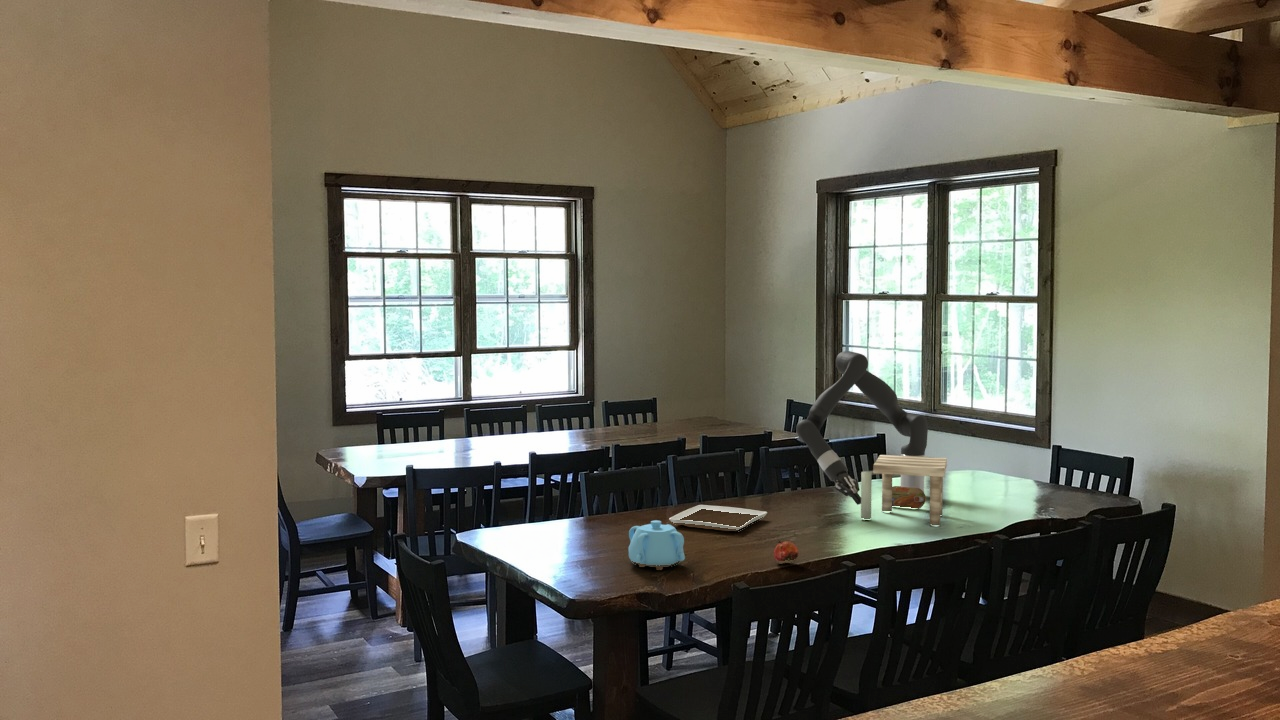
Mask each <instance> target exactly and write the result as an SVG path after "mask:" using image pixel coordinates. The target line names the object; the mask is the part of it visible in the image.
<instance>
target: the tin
mask: <svg viewBox="0 0 1280 720" xmlns="http://www.w3.org/2000/svg"><path fill="white" fill-rule="evenodd" d="M926 501H927V497H926V493H925V491H924V492H923V491H922V490H921V489H919V488H917V487H903V486H901V485H895V486H893V485H892V506H900V507H911V508H918V509H917V510H920V509H921V508H922V507H923V506H924V505H925V503H926Z"/></svg>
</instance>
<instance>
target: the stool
mask: <svg viewBox="0 0 1280 720" xmlns="http://www.w3.org/2000/svg"><path fill="white" fill-rule="evenodd" d="M947 460H948V457H940V456H939V457H934V456H933V457H932V456H925V457H917V456H901V455H892V454H890V455H889V454H880V455H879V456H878V458H877V459H876V460H875V462H874V463H873V467H872V468H873V469H872V471H873V473H876V474H875V475H881V476H882V477H881V480H882V481H881V482H882V483H881V488H882V489H881V512H882V511H892V512H893V507H892V487H893V475H899V476H901V475H915V476H924V477H930V478H929V479H930V480H929V525H930V524H932V525H940V526H941V516H940V515H942V516H943V495H944V494H943V492H944V491H943V490H944V489H943V483H944V480H943V479H944V478H945V475H946V472H947V466H948V464H947V463H948V461H947Z"/></svg>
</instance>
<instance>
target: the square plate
mask: <svg viewBox="0 0 1280 720" xmlns="http://www.w3.org/2000/svg"><path fill="white" fill-rule="evenodd" d="M701 509H706V510H713V511H721V512H729V513H739V514H740V513H741V514H750V515H758V516H756V517H754V518H752V519H751V520H749V521H748V522H746V523H745V524H744V525H742V526H740V527H736V526H729V525H723V524H717V523H711V522H703V521H693V520H680V519H682V518H684V517H687V516H689V515H691V514H693V513H695V512H697V511H699V510H701ZM767 514H768V512H767V511H764V510H757V509H756V510H755V509H749V508H742V507H733V506H732V507H731V506H722V505H721V506H720V505H707V504H698V505H696V506H693V507H690V508H688V509H686V510H683V511H681V512H679V513H677V514H675V515H673V516H671V517H669V518H668V521H670V522H671V523H672V522H673V523H672V524H674V523H685V524H695V525H705V526H712V527H720V528H728V529H736V530H739V529H741V528H743V527H745V526H746V525H748V524H750V523H752V522H754V521H756V520H758V519H760V518H762V517H763V518H765V516H766V515H767ZM763 518H762V519H763ZM760 520H761V519H760ZM752 524H753V523H752Z"/></svg>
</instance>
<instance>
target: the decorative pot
mask: <svg viewBox="0 0 1280 720" xmlns="http://www.w3.org/2000/svg"><path fill="white" fill-rule="evenodd" d="M628 537H629V542H630V543H629V545H628V547H627V549H628V558H629V560H630V561H631V562H632V561H633V562H636V563H640V564H646V565H656V566H657V565H659V566H660V565H671V564H674V563H676V562H678V561H680V562H683V561H684V560H685V559H686V556H685V553H684V552H685V551H684V544H685V537H684V536H683V534H682V533H681V532H679V531H677V529H676V527H674V526H673V524H672V525H671V524H662V521H661V520H657V519H655V520H651V521H650V523H648V524H644V525H641V526H640V525H634V526H632V527H631V528H630V529H629V530H628ZM633 562H632V563H633Z"/></svg>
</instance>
